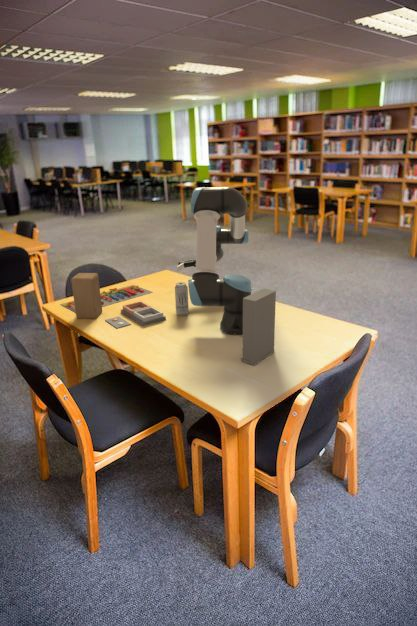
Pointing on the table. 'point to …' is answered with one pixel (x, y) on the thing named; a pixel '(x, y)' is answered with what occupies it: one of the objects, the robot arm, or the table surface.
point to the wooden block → (86, 295)
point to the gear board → (115, 296)
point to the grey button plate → (117, 322)
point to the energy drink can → (181, 299)
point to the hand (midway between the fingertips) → (189, 270)
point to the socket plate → (142, 313)
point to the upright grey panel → (258, 326)
